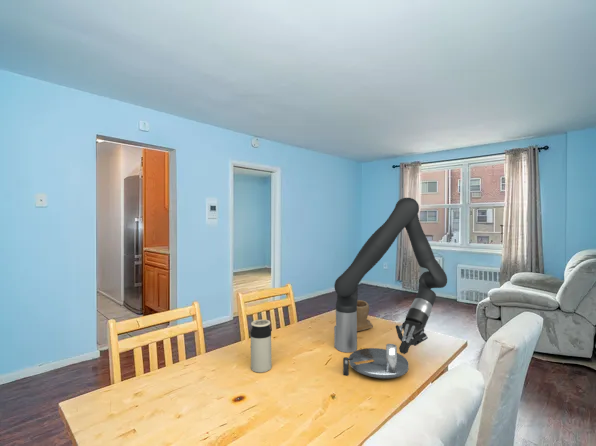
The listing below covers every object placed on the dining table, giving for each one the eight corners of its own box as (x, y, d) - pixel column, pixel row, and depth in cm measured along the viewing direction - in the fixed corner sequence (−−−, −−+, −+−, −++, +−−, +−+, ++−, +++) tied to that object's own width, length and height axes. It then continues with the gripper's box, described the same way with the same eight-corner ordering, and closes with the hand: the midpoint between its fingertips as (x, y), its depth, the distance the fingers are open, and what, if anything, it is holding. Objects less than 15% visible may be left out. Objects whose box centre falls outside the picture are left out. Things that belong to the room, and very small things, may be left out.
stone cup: (355, 335, 158) (355, 305, 157) (341, 328, 168) (341, 300, 168) (379, 330, 164) (379, 301, 164) (365, 323, 175) (364, 296, 175)
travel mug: (275, 367, 125) (275, 322, 124) (260, 375, 119) (259, 327, 118) (262, 361, 130) (261, 317, 130) (246, 368, 124) (246, 322, 124)
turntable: (346, 351, 134) (346, 326, 134) (399, 352, 133) (399, 327, 133) (352, 377, 112) (352, 347, 112) (416, 378, 111) (416, 349, 111)
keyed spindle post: (342, 374, 119) (342, 358, 119) (373, 359, 131) (373, 344, 131) (370, 387, 109) (370, 370, 109) (400, 370, 122) (400, 354, 122)
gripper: (400, 304, 128) (382, 342, 120) (432, 311, 118) (415, 353, 110) (407, 314, 132) (390, 352, 124) (439, 322, 122) (422, 363, 114)
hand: (402, 352), depth 117 cm, fingers closed
